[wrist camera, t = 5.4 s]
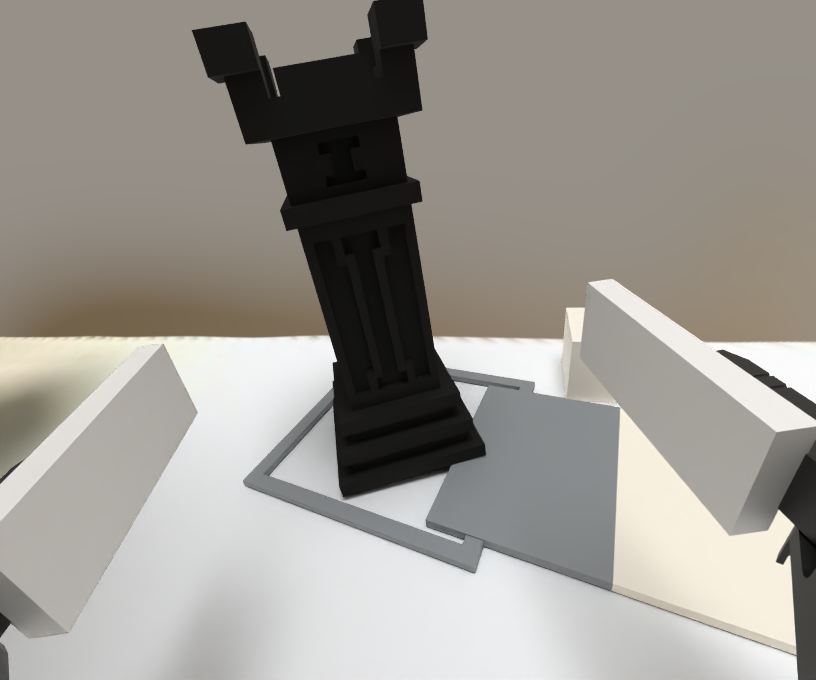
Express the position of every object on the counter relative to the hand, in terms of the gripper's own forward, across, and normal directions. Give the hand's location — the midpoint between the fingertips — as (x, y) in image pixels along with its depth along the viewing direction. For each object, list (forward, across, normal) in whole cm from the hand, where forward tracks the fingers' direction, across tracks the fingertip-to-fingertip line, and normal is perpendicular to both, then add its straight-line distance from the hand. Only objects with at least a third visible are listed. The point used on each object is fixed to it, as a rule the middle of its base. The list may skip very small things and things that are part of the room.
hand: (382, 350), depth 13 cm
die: (+10, +13, -11) cm, 20 cm away
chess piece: (+8, 0, -11) cm, 14 cm away
